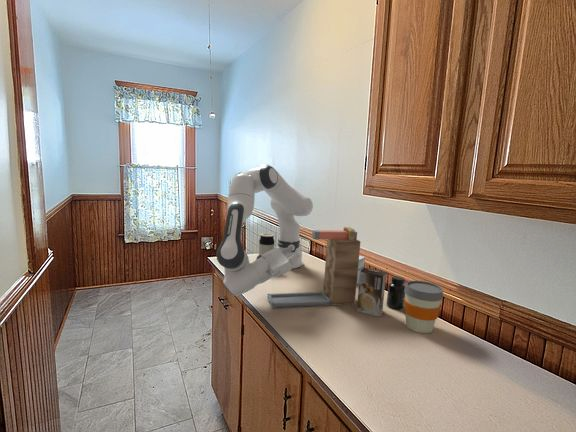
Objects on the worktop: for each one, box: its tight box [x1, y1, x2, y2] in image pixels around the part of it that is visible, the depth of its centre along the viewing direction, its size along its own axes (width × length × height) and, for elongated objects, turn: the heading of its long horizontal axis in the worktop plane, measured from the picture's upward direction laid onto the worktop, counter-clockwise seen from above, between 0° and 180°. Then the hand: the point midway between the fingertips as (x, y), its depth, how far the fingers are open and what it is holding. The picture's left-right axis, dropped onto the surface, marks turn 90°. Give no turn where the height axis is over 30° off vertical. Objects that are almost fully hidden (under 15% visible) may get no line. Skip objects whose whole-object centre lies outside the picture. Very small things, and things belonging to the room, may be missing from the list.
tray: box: [266, 291, 332, 309], centre depth 132 cm, size 10×24×2 cm, turn 104°
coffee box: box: [356, 267, 387, 318], centre depth 125 cm, size 9×6×16 cm
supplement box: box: [356, 255, 366, 286], centre depth 158 cm, size 7×7×13 cm
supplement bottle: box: [386, 275, 406, 310], centre depth 132 cm, size 7×7×12 cm
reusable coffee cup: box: [403, 280, 444, 334], centre depth 115 cm, size 13×12×15 cm
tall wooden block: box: [322, 226, 361, 306], centre depth 134 cm, size 10×10×30 cm
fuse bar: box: [311, 229, 358, 240], centre depth 131 cm, size 3×18×3 cm, turn 104°
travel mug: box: [258, 232, 275, 255], centre depth 171 cm, size 8×8×18 cm
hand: (295, 250), depth 128 cm, fingers open, 8 cm apart
